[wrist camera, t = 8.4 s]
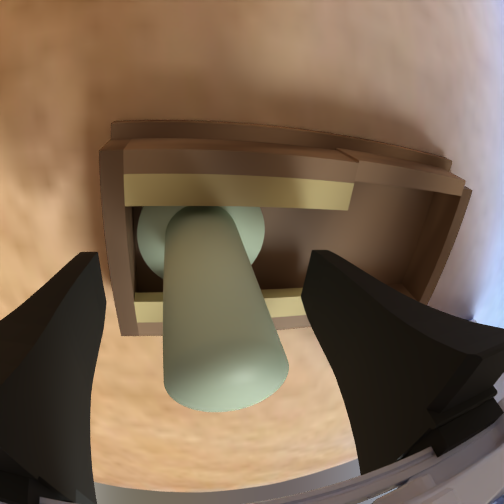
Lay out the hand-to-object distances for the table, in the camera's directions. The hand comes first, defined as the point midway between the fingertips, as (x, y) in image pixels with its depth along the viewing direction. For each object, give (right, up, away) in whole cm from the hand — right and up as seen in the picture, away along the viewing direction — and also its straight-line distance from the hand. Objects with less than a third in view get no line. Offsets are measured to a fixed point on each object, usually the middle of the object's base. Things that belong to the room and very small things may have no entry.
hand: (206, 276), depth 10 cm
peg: (-1, +2, +2) cm, 3 cm away
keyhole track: (+4, +2, +4) cm, 6 cm away
